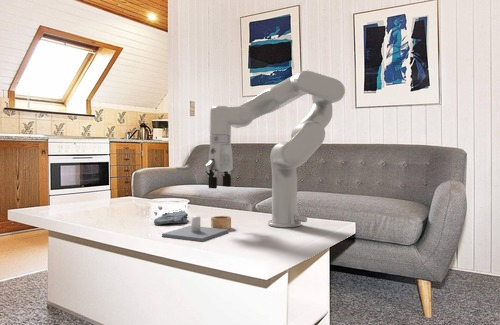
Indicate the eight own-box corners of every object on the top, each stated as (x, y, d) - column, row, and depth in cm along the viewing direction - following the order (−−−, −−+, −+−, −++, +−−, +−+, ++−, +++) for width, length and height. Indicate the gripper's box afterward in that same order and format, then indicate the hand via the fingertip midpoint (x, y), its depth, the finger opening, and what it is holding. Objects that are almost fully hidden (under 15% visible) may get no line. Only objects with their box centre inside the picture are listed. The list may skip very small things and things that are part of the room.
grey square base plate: (228, 232, 140) (228, 215, 140) (202, 241, 126) (202, 222, 125) (190, 228, 147) (190, 212, 147) (162, 236, 133) (161, 218, 133)
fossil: (152, 227, 152) (152, 216, 152) (158, 218, 170) (158, 209, 170) (186, 226, 154) (186, 216, 153) (188, 218, 171) (188, 208, 171)
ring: (233, 227, 148) (233, 216, 148) (224, 230, 142) (224, 219, 142) (218, 226, 152) (218, 215, 152) (208, 229, 146) (208, 218, 145)
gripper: (216, 139, 137) (215, 189, 137) (240, 141, 152) (240, 186, 152) (198, 139, 140) (197, 188, 141) (223, 141, 156) (223, 185, 156)
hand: (219, 187), depth 147 cm, fingers open, 9 cm apart
